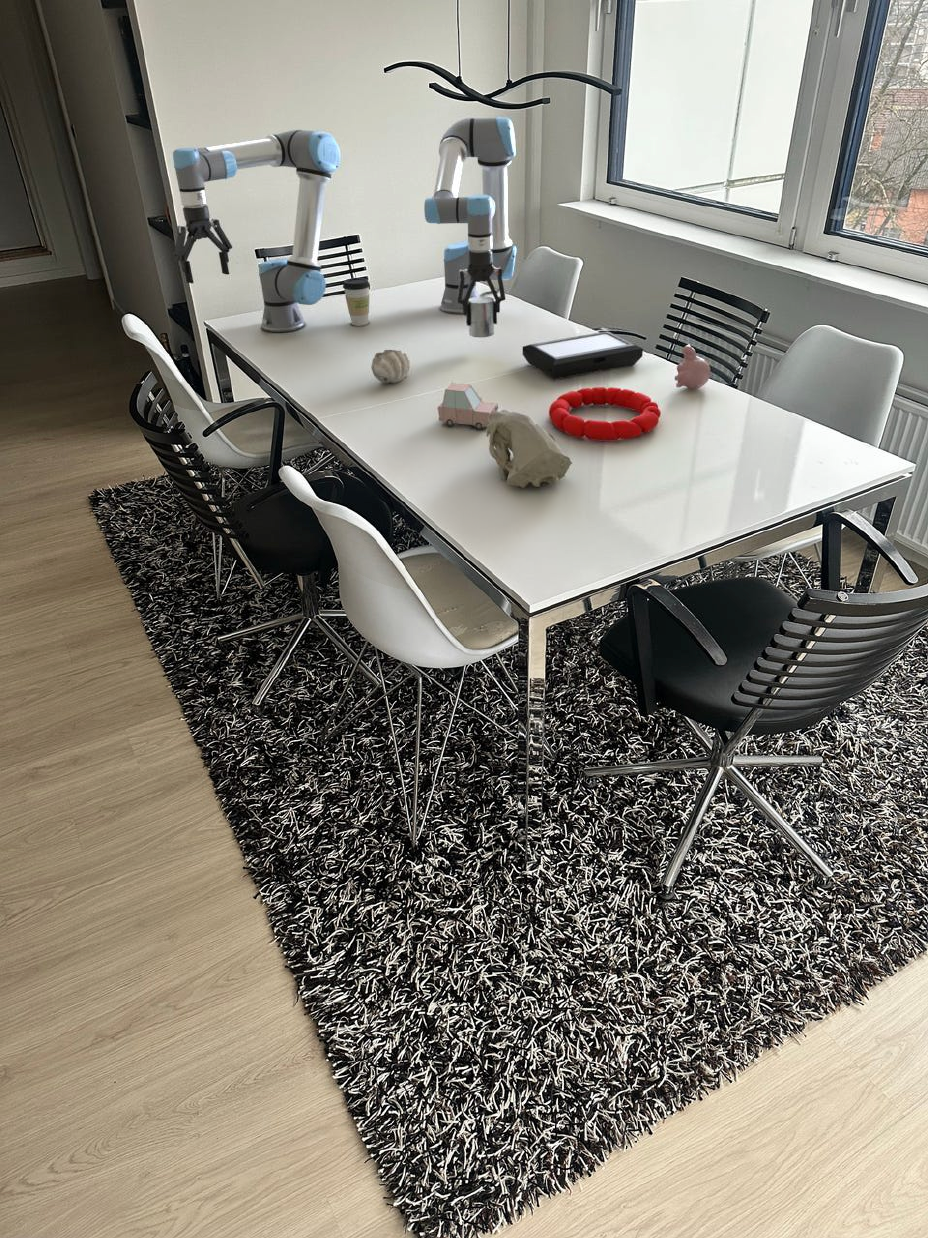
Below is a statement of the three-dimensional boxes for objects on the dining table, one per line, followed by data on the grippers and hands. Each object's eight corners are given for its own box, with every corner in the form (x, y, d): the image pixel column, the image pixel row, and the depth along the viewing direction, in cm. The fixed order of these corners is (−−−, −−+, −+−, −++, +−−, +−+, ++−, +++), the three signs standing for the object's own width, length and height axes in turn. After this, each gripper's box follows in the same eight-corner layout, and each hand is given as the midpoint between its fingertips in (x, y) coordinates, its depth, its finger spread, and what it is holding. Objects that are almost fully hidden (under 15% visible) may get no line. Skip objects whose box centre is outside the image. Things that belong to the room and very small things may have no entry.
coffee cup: (372, 326, 323) (368, 283, 314) (345, 327, 323) (340, 284, 315) (374, 318, 331) (371, 276, 322) (348, 319, 331) (344, 277, 323)
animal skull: (496, 517, 219) (521, 479, 201) (463, 429, 225) (484, 384, 207) (557, 503, 225) (586, 465, 206) (523, 417, 231) (549, 373, 212)
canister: (474, 338, 288) (473, 304, 282) (465, 331, 294) (464, 298, 288) (497, 335, 290) (497, 301, 284) (488, 328, 296) (488, 294, 290)
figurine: (665, 387, 264) (669, 347, 257) (693, 380, 268) (698, 340, 261) (686, 396, 257) (690, 355, 250) (714, 388, 262) (720, 348, 255)
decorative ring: (589, 435, 224) (684, 402, 234) (527, 398, 247) (617, 369, 256) (589, 461, 229) (683, 427, 238) (529, 422, 251) (617, 393, 260)
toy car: (488, 432, 240) (488, 396, 234) (436, 426, 244) (434, 390, 239) (499, 419, 247) (499, 384, 241) (448, 413, 252) (447, 379, 246)
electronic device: (553, 362, 266) (522, 343, 282) (552, 382, 270) (522, 363, 285) (643, 345, 277) (609, 328, 292) (641, 365, 280) (607, 347, 295)
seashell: (364, 381, 275) (361, 349, 270) (407, 372, 281) (405, 341, 275) (377, 391, 268) (374, 358, 262) (421, 382, 273) (420, 349, 268)
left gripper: (166, 213, 261) (181, 288, 273) (235, 200, 276) (247, 271, 288) (152, 210, 265) (167, 284, 277) (221, 197, 280) (233, 268, 292)
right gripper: (448, 254, 273) (451, 329, 286) (515, 250, 275) (515, 324, 288) (445, 249, 279) (448, 322, 292) (511, 245, 281) (511, 318, 294)
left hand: (208, 278), depth 283 cm, fingers open, 13 cm apart
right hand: (481, 323), depth 290 cm, fingers closed on canister, 8 cm apart
